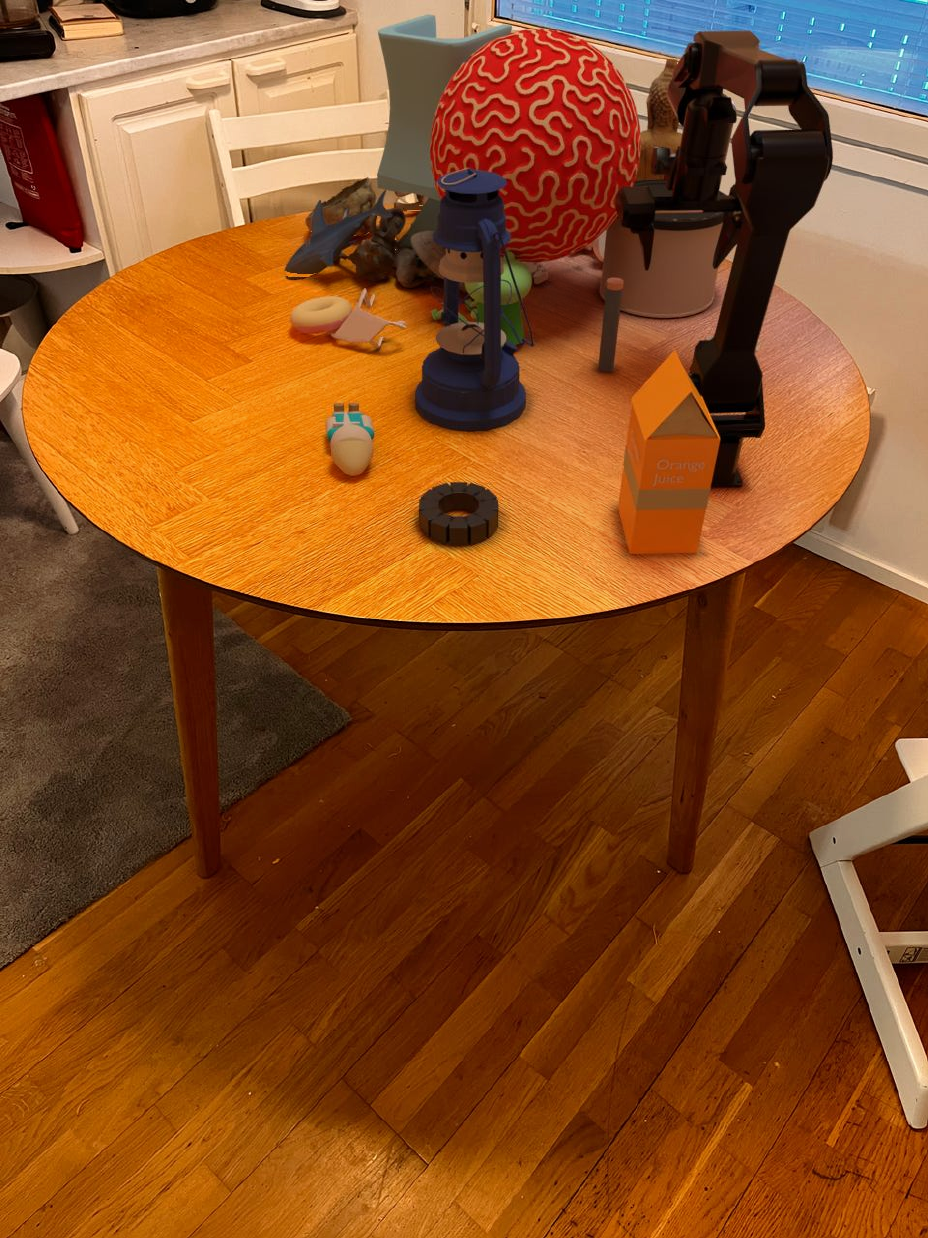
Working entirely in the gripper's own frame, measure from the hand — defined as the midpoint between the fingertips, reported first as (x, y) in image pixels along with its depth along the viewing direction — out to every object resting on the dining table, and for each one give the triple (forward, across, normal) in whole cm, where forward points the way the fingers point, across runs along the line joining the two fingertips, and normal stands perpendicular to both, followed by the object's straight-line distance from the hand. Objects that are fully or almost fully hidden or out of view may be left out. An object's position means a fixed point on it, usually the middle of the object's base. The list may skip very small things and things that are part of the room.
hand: (680, 268), depth 127 cm
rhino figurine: (+16, +32, -35) cm, 50 cm away
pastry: (+15, +48, -54) cm, 74 cm away
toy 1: (+12, +48, -38) cm, 62 cm away
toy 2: (+12, +45, +12) cm, 48 cm away
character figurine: (+15, 0, -36) cm, 39 cm away
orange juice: (+10, +9, +39) cm, 41 cm away
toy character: (+17, +25, -11) cm, 32 cm away
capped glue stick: (+15, +8, +1) cm, 17 cm away
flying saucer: (+16, +30, -28) cm, 44 cm away
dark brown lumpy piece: (+9, +38, -39) cm, 55 cm away
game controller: (+20, +12, -32) cm, 40 cm away
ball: (+8, +19, -31) cm, 37 cm away
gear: (+10, +32, +36) cm, 49 cm away
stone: (+16, -12, -5) cm, 21 cm away
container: (+18, -4, -24) cm, 30 cm away
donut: (+16, +54, -16) cm, 58 cm away
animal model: (+18, +36, -55) cm, 68 cm away
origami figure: (+15, +42, -12) cm, 46 cm away
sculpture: (+22, -8, -46) cm, 51 cm away
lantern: (+14, +28, +9) cm, 33 cm away
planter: (+20, +29, -40) cm, 53 cm away
